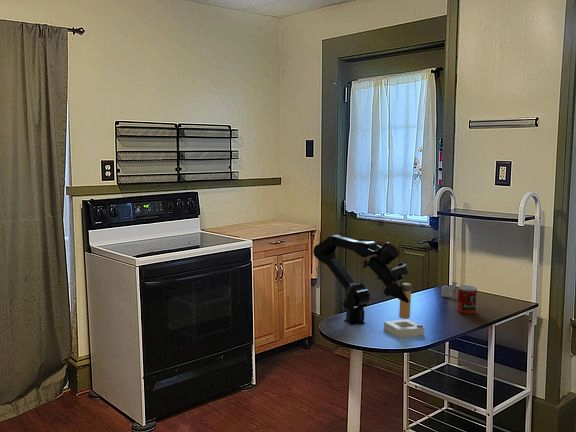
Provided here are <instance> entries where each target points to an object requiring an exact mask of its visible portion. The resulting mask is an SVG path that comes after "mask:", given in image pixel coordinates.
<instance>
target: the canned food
mask: <svg viewBox="0 0 576 432" xmlns="http://www.w3.org/2000/svg"><path fill="white" fill-rule="evenodd" d="M477 290H478V289H477V287H475V286H472V285H466V284H465V285H464V284H463V285H459V286H458V290H457V305H456V310H457V313H459V314H461V315H474V314H475V313H476V307H477V306H476V305H477V303H476V302H477V294H478V293H477V292H478V291H477Z"/></svg>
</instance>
